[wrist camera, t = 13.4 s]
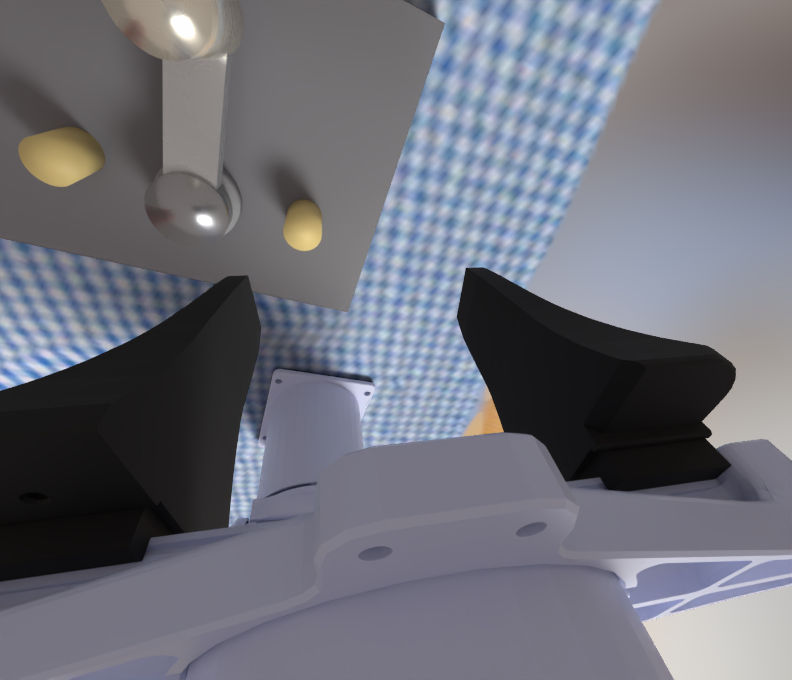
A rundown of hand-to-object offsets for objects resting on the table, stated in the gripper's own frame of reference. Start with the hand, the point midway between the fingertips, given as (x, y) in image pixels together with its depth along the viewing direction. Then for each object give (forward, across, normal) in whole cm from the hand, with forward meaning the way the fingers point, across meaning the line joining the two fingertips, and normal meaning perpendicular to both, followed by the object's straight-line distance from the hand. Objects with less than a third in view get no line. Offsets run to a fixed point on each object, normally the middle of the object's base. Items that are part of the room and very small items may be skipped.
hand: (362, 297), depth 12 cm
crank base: (+10, +7, -3) cm, 13 cm away
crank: (+8, +6, -4) cm, 10 cm away
